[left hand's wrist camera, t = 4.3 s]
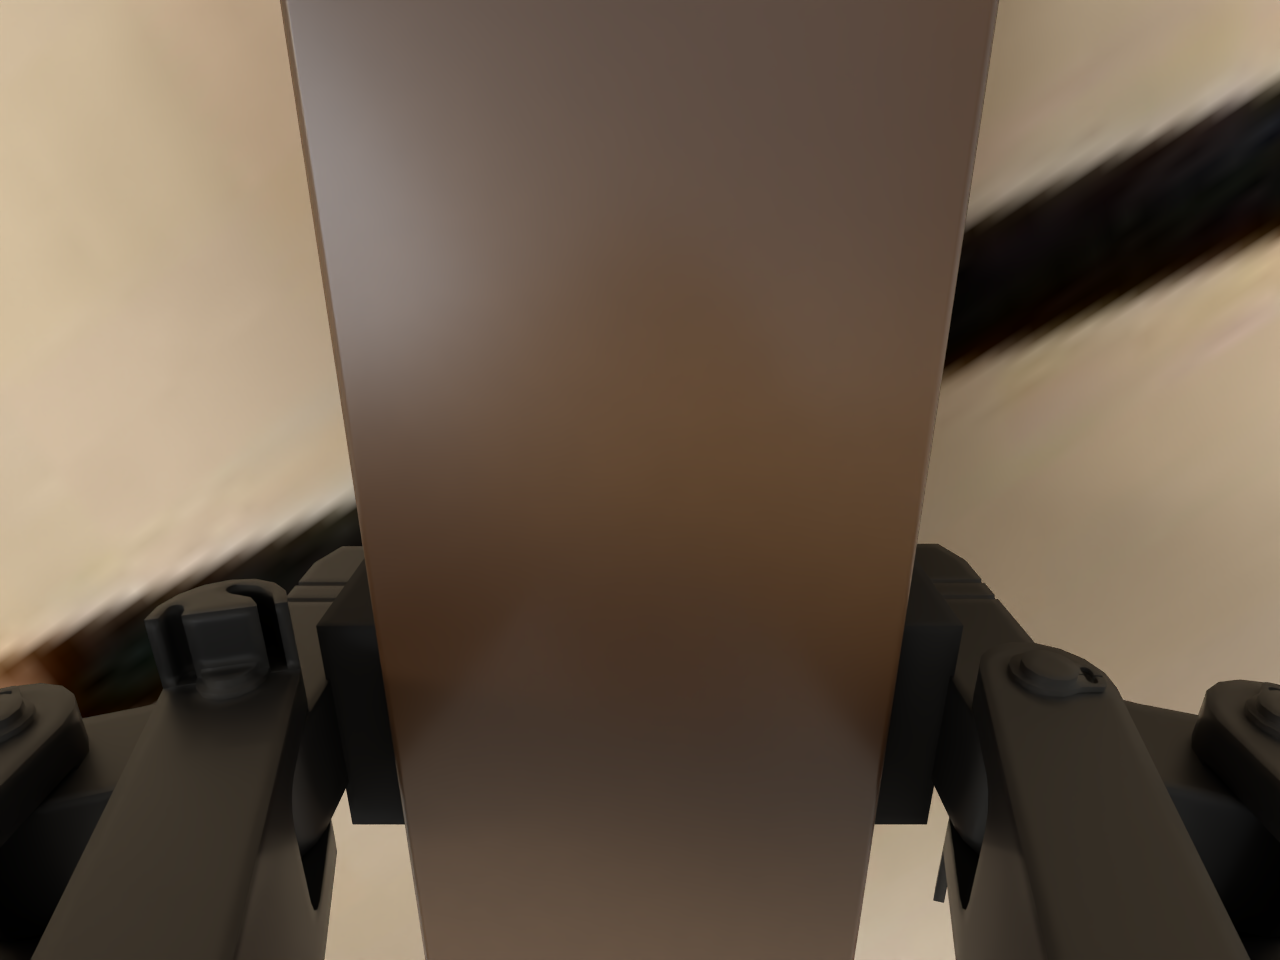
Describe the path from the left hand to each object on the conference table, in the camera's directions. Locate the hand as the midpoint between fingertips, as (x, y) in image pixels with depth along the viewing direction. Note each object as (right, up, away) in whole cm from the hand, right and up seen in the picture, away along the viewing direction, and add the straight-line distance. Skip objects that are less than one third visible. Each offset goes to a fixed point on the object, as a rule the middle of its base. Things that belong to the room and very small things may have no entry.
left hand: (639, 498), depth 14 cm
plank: (0, +26, -10) cm, 28 cm away
